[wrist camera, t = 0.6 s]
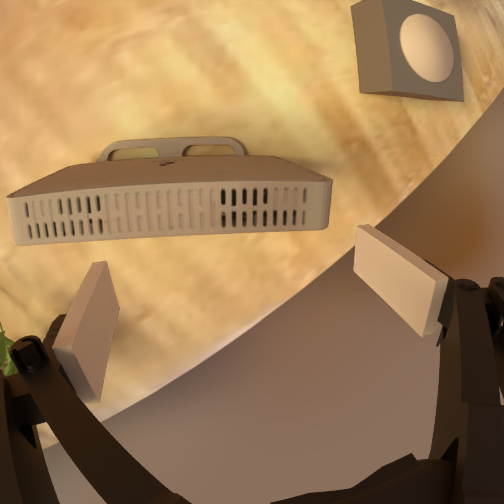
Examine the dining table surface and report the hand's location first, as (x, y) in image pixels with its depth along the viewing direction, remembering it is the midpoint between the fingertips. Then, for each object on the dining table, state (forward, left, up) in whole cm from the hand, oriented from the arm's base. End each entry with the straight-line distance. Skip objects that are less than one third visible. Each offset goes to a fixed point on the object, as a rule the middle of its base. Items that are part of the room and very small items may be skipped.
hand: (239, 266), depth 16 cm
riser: (-17, +30, -27) cm, 44 cm away
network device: (-1, -4, -27) cm, 27 cm away
